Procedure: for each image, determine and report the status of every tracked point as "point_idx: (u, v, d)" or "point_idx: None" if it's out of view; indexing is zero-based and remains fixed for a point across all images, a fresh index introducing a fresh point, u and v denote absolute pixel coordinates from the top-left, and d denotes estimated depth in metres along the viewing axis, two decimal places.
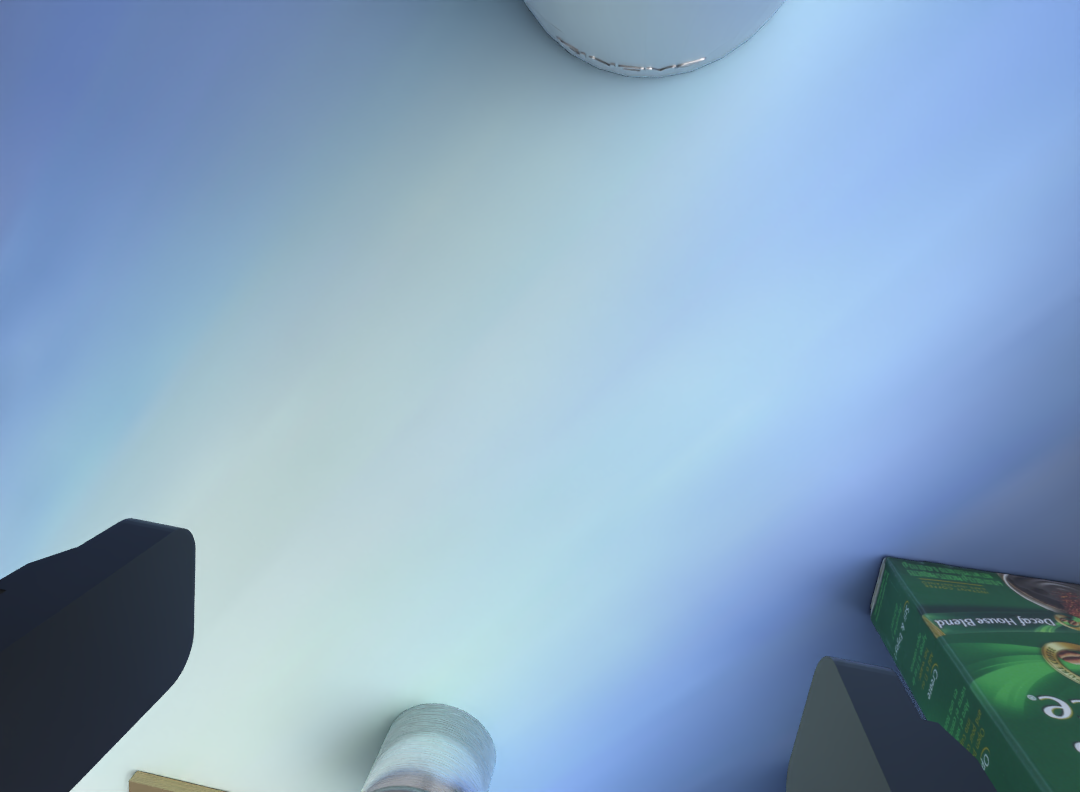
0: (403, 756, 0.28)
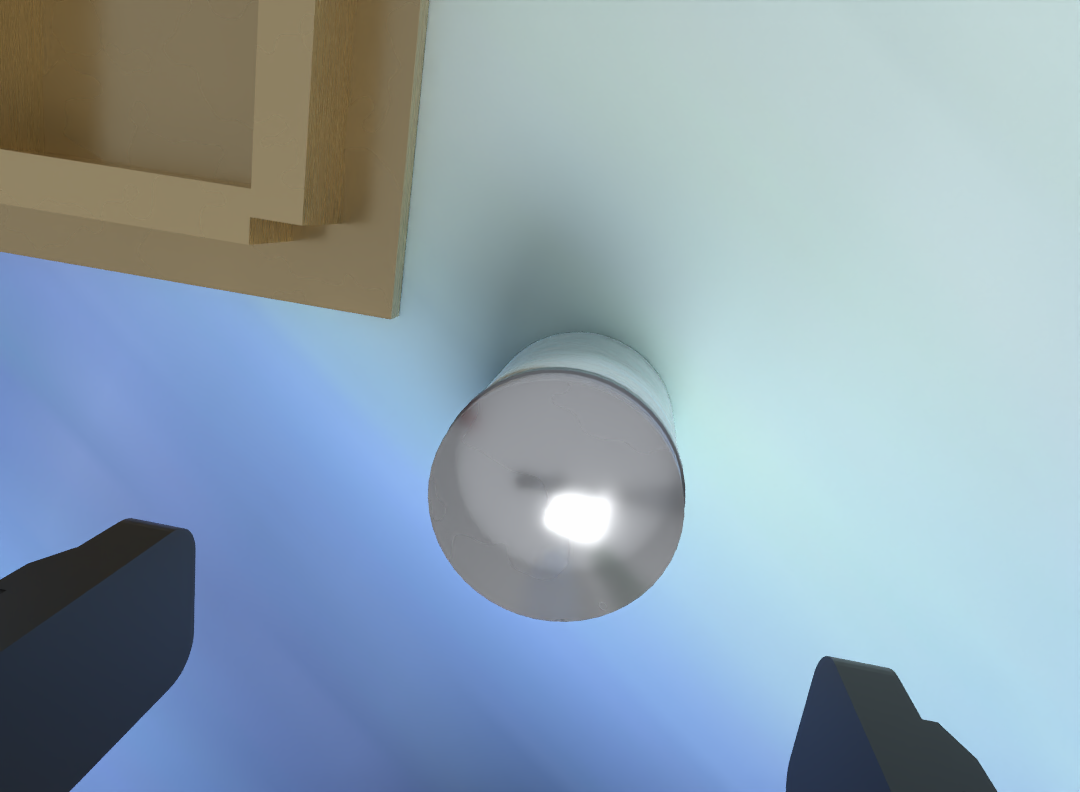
0: (675, 440, 0.15)
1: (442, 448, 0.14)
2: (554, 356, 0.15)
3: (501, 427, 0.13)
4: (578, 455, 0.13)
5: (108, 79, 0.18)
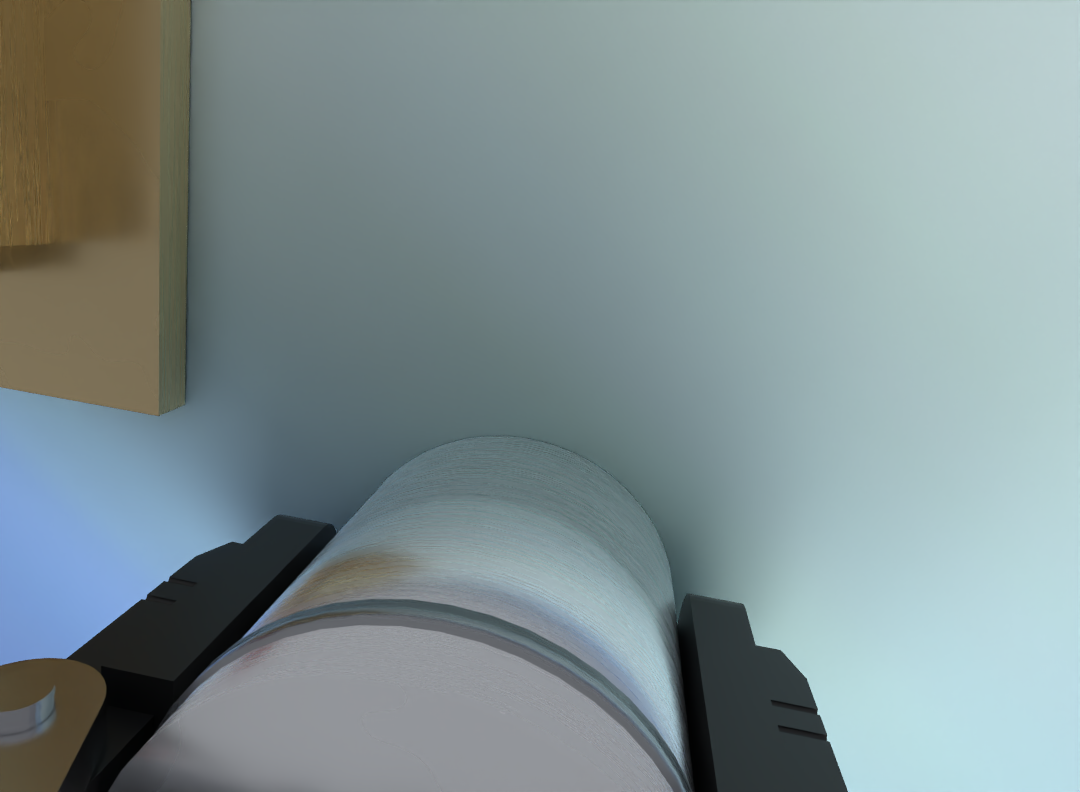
0: (682, 700, 0.07)
1: None
2: (421, 533, 0.07)
3: (241, 781, 0.05)
4: None
5: None
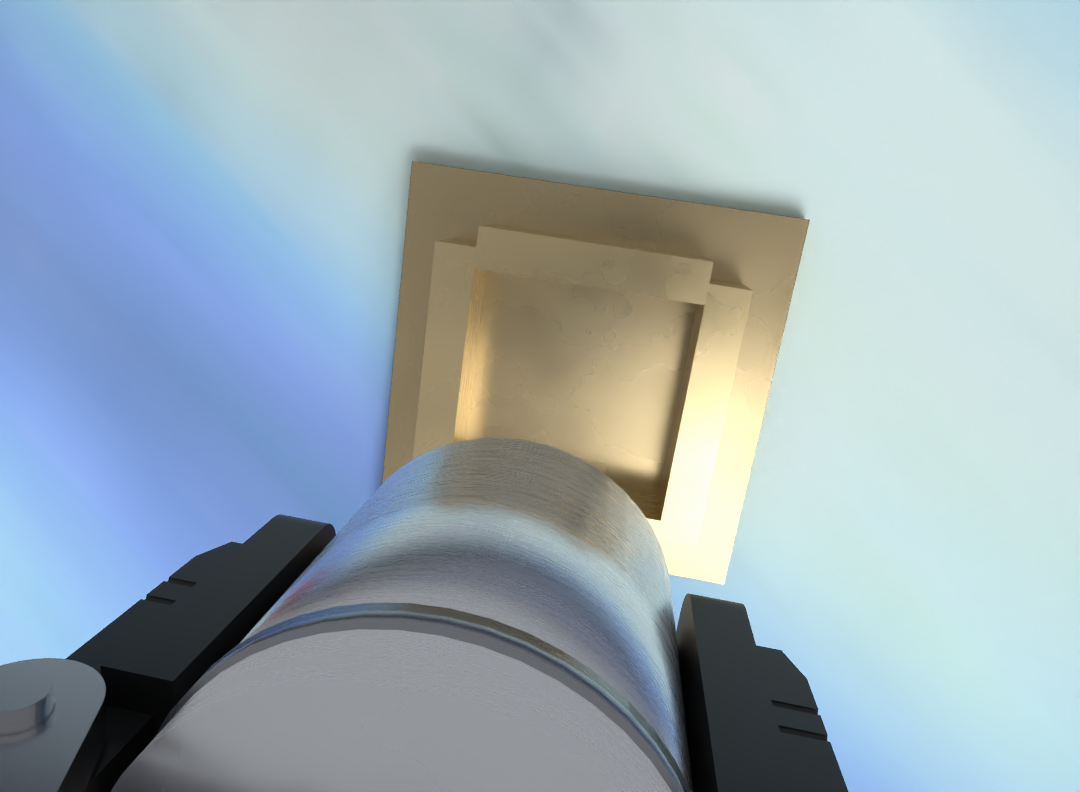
0: (682, 702, 0.07)
1: None
2: (420, 536, 0.07)
3: (241, 786, 0.05)
4: None
5: (521, 414, 0.24)
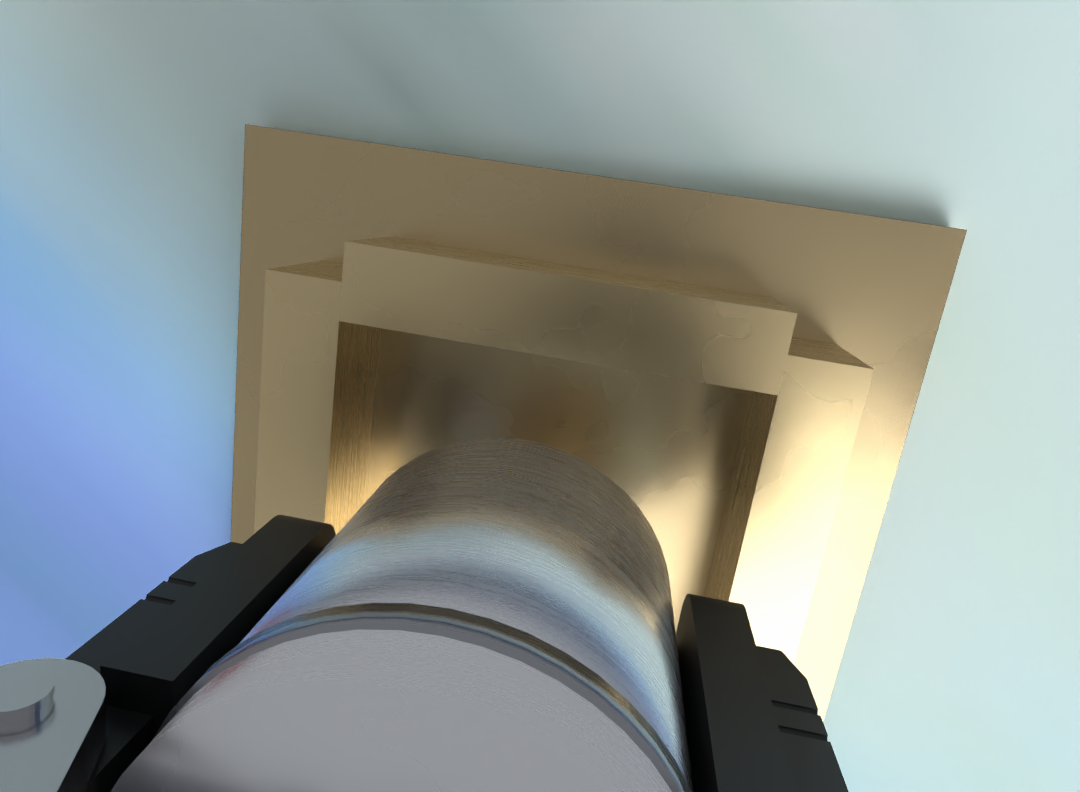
0: (681, 703, 0.07)
1: None
2: (420, 535, 0.07)
3: (241, 786, 0.05)
4: None
5: None
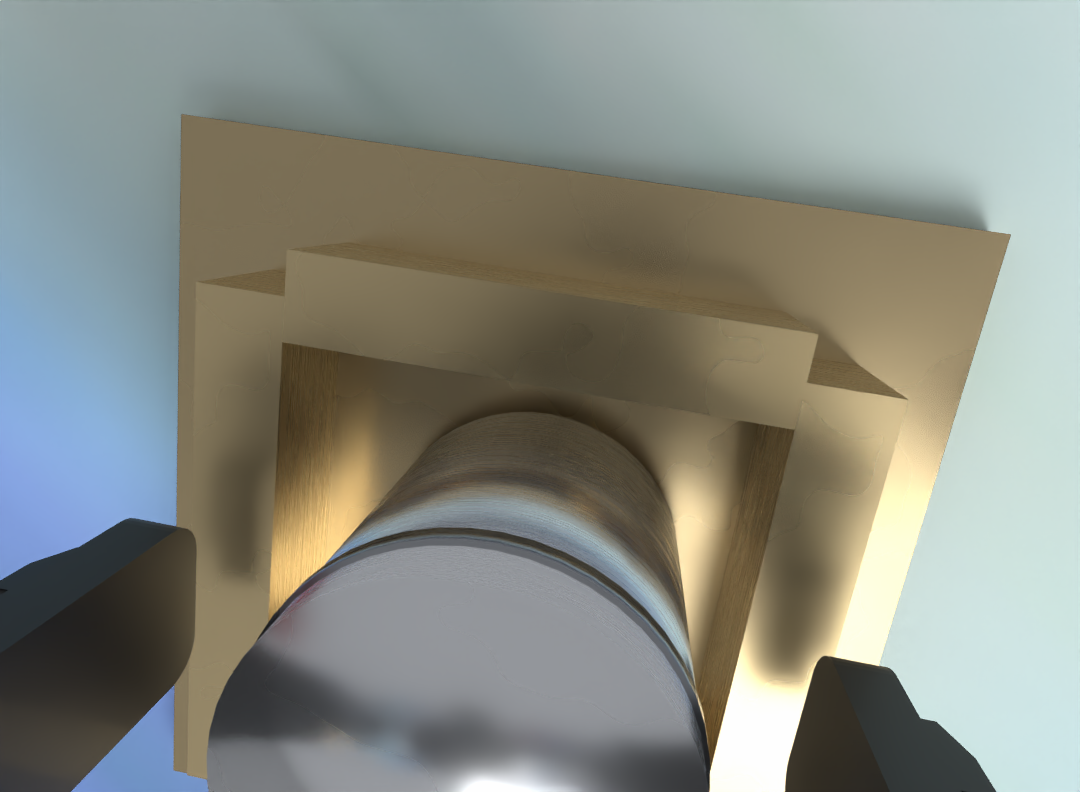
0: (687, 628, 0.09)
1: (227, 698, 0.07)
2: (469, 483, 0.08)
3: (340, 664, 0.07)
4: (496, 723, 0.07)
5: None
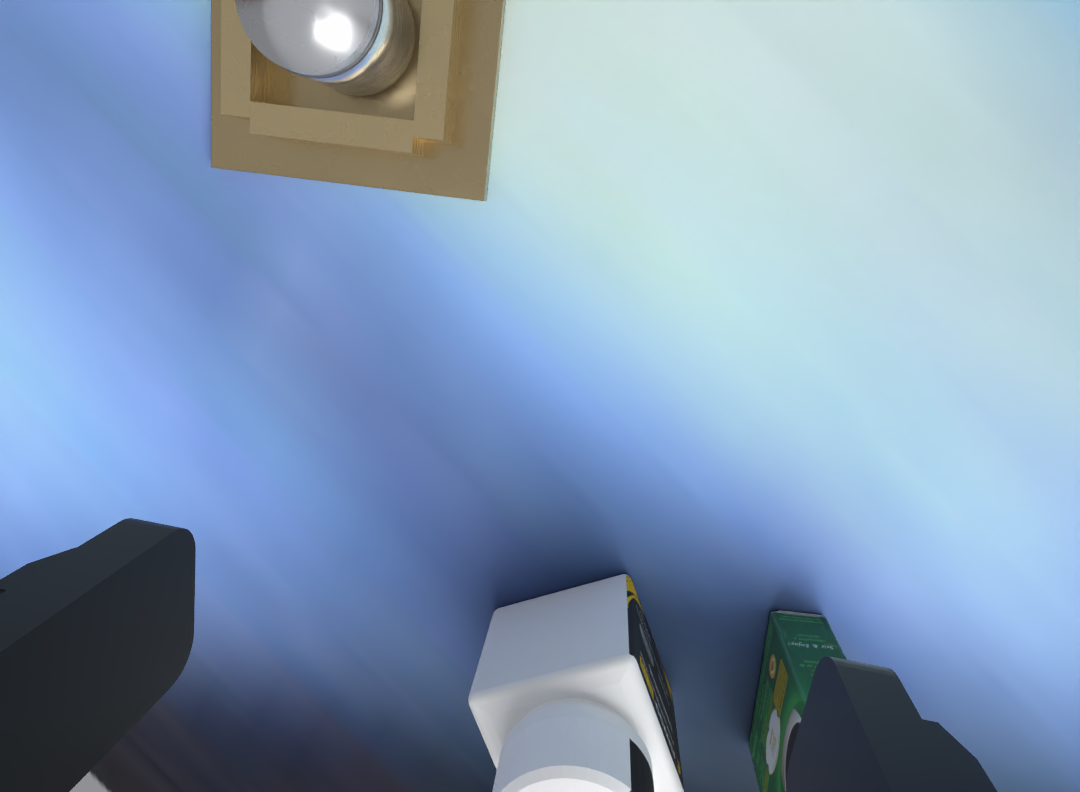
0: None
1: None
2: None
3: None
4: None
5: None
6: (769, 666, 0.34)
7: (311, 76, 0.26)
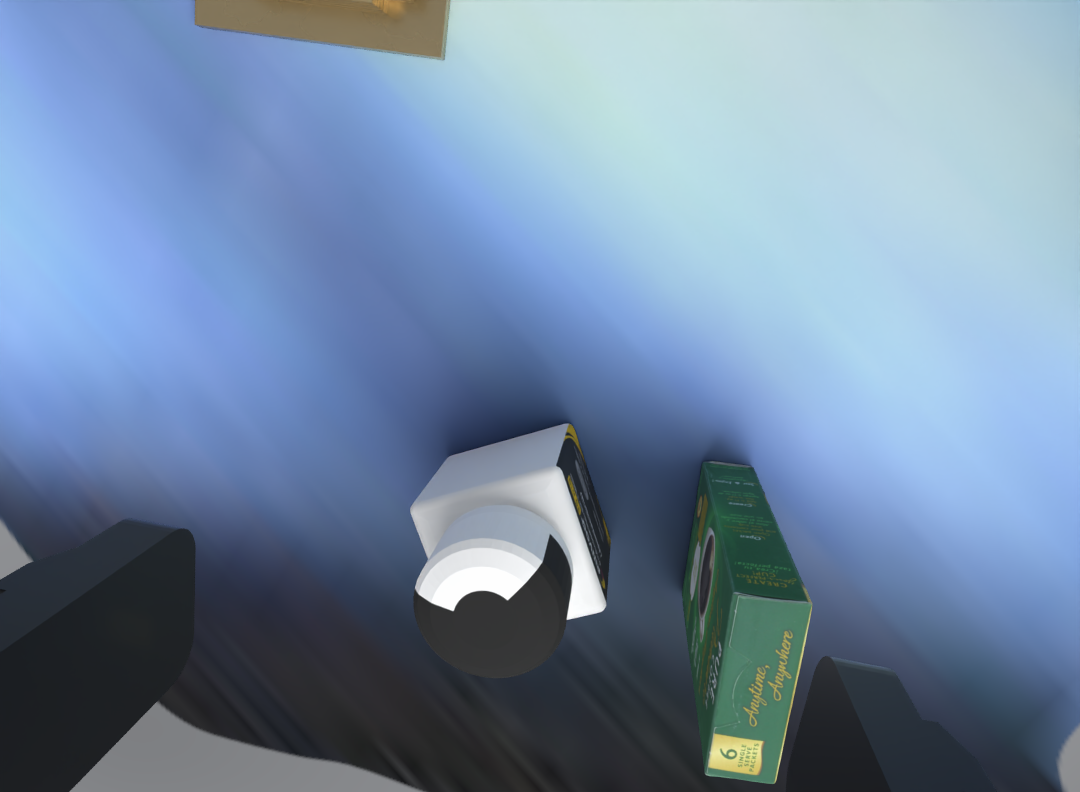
0: None
1: None
2: None
3: None
4: None
5: None
6: (697, 508, 0.36)
7: None
